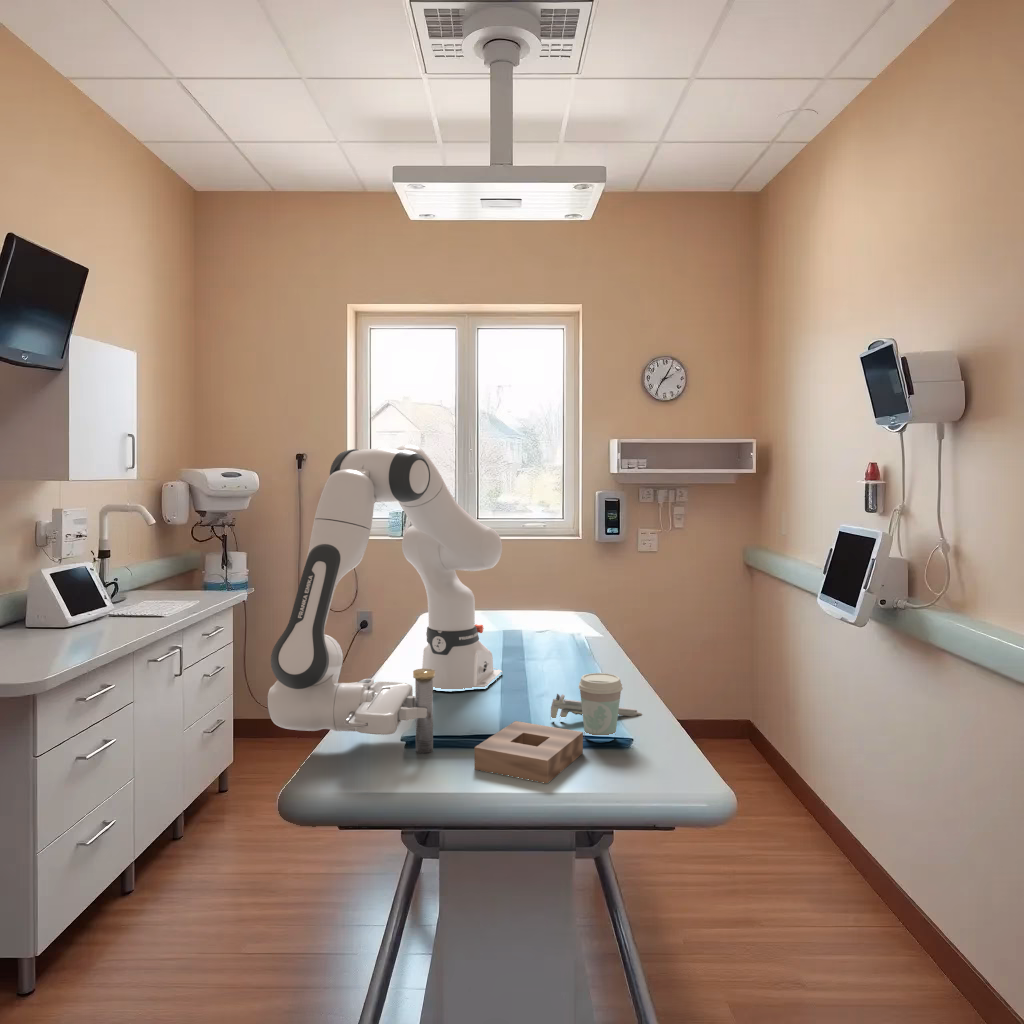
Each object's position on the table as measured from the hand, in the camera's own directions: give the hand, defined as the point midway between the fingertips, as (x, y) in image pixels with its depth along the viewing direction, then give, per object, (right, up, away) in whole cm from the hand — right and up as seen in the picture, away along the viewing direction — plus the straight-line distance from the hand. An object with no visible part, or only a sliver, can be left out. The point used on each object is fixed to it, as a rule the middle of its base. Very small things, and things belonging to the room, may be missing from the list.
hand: (428, 708), depth 152 cm
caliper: (+33, -7, +19) cm, 39 cm away
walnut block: (+19, -8, -5) cm, 21 cm away
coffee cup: (+33, -8, +7) cm, 34 cm away
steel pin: (-1, -8, +1) cm, 8 cm away
